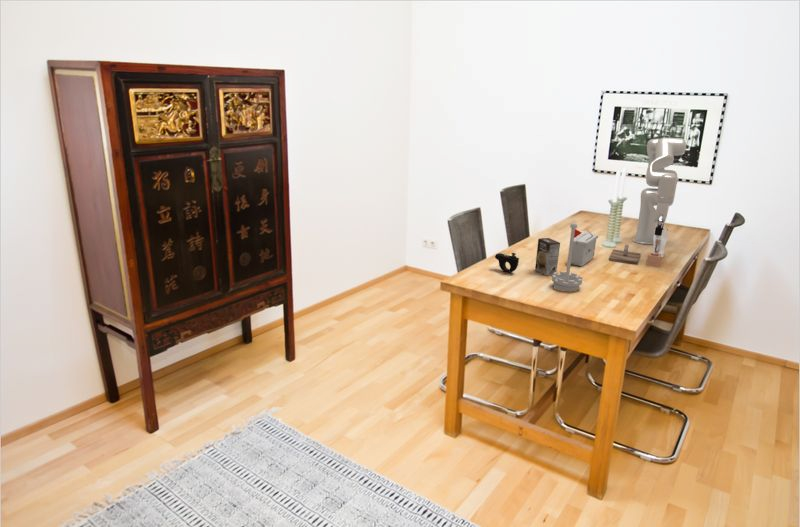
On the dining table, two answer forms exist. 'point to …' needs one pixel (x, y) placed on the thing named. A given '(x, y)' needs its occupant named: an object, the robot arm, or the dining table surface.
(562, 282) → the flag stand
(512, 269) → the controller
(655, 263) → the bead
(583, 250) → the stereo radio cassette player
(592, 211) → the dining table surface
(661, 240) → the beer glass
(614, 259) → the brown peg stand
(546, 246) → the coffee box
